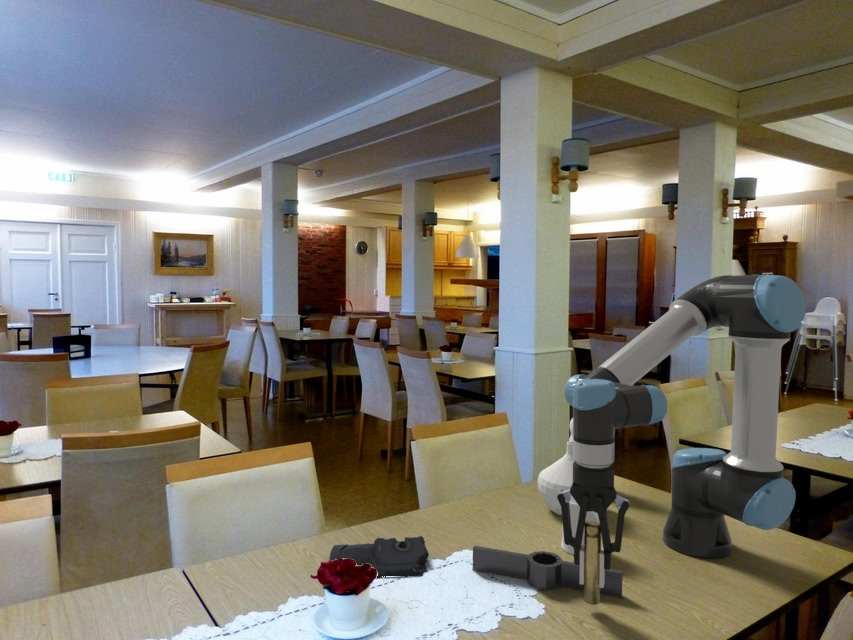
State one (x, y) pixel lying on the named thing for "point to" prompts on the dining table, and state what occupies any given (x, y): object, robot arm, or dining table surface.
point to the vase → (557, 479)
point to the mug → (574, 521)
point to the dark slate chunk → (388, 556)
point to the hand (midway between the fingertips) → (592, 582)
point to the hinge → (540, 570)
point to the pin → (592, 562)
